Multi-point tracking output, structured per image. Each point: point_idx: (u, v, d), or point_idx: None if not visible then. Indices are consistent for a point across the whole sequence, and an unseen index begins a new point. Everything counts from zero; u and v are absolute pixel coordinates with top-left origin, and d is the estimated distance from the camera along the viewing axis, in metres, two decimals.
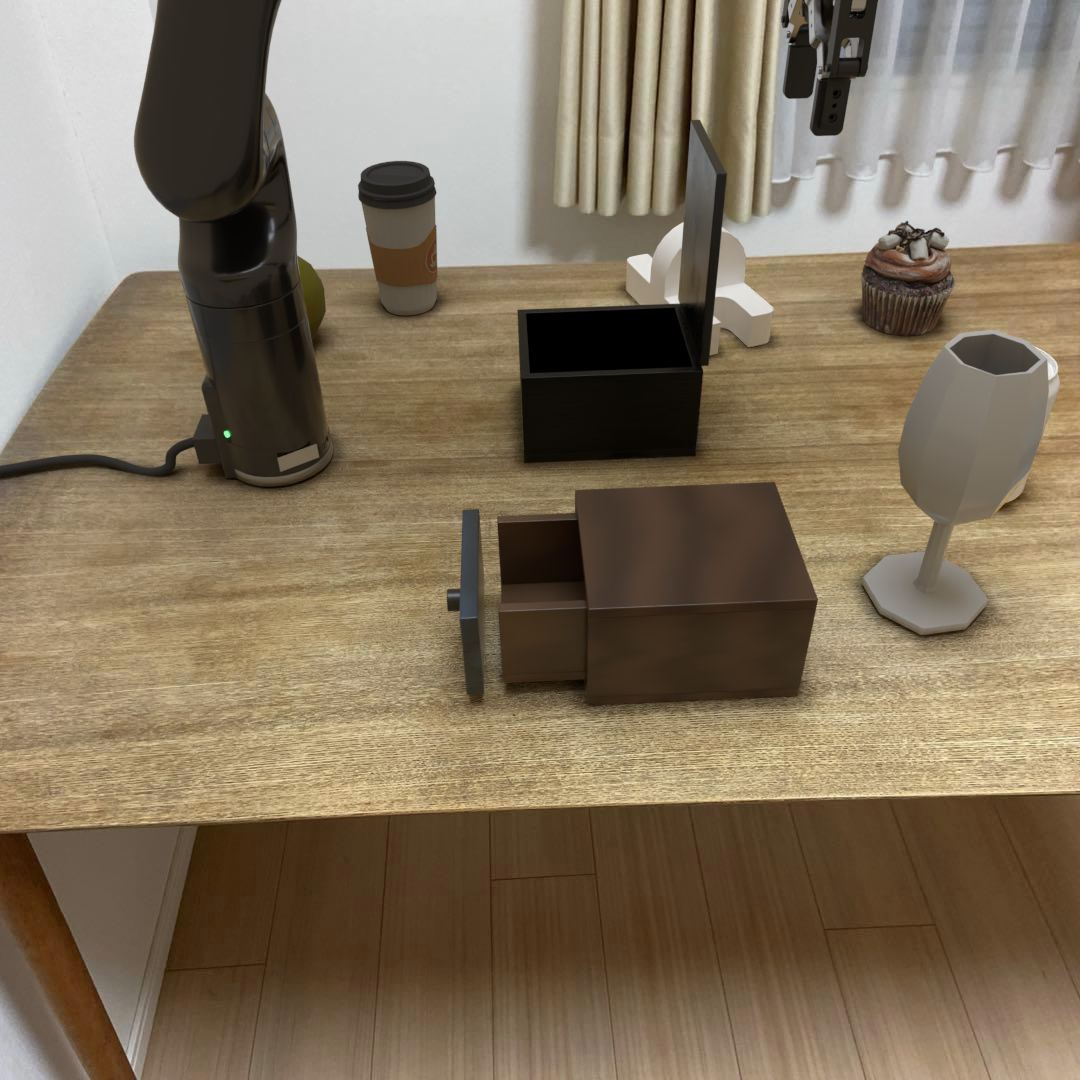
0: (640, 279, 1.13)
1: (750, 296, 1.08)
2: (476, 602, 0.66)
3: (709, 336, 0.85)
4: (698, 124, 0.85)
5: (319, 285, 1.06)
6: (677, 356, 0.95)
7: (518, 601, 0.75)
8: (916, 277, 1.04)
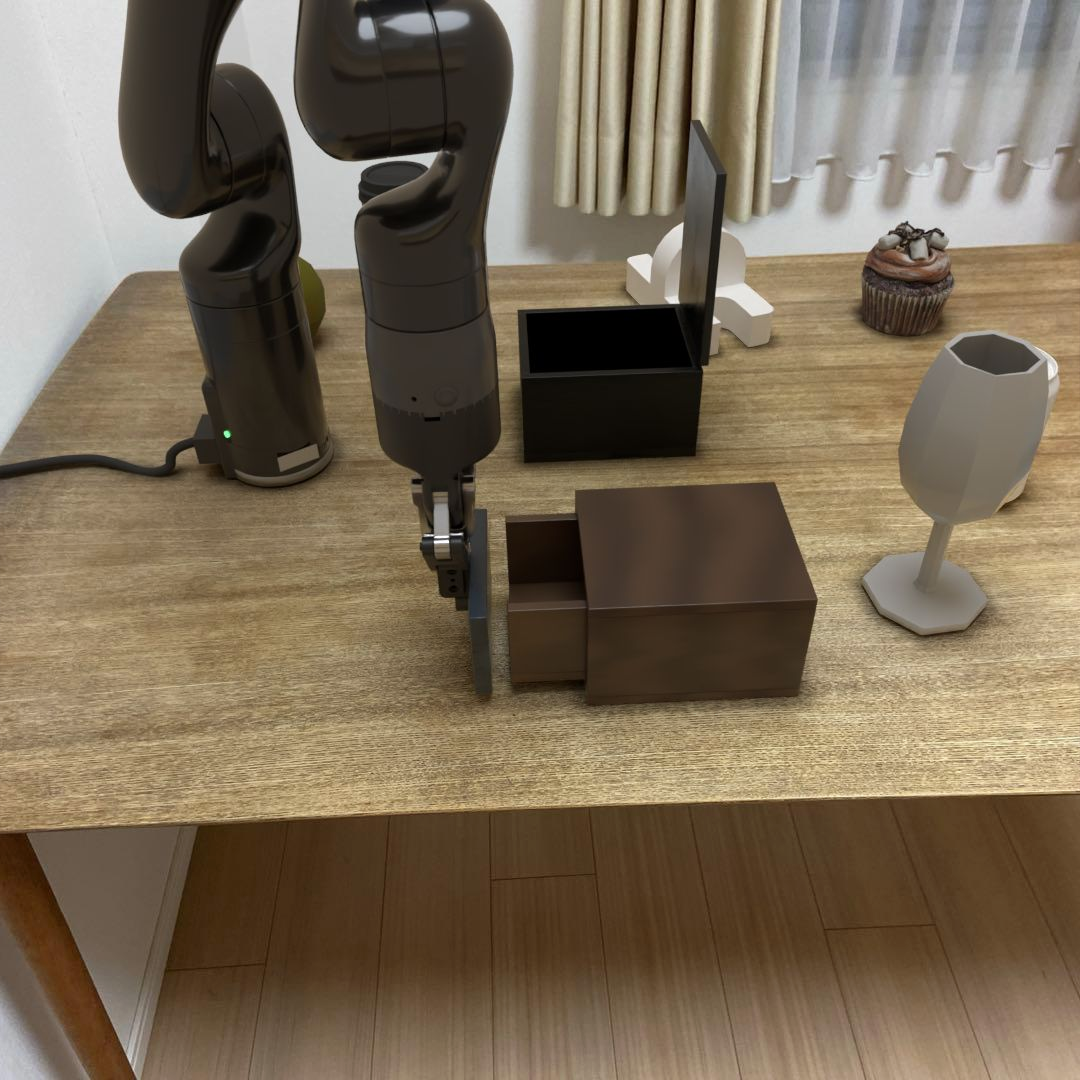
0: (640, 279, 1.13)
1: (750, 296, 1.08)
2: (485, 602, 0.66)
3: (709, 336, 0.85)
4: (698, 124, 0.85)
5: (319, 285, 1.06)
6: (677, 356, 0.95)
7: (526, 601, 0.75)
8: (916, 277, 1.04)
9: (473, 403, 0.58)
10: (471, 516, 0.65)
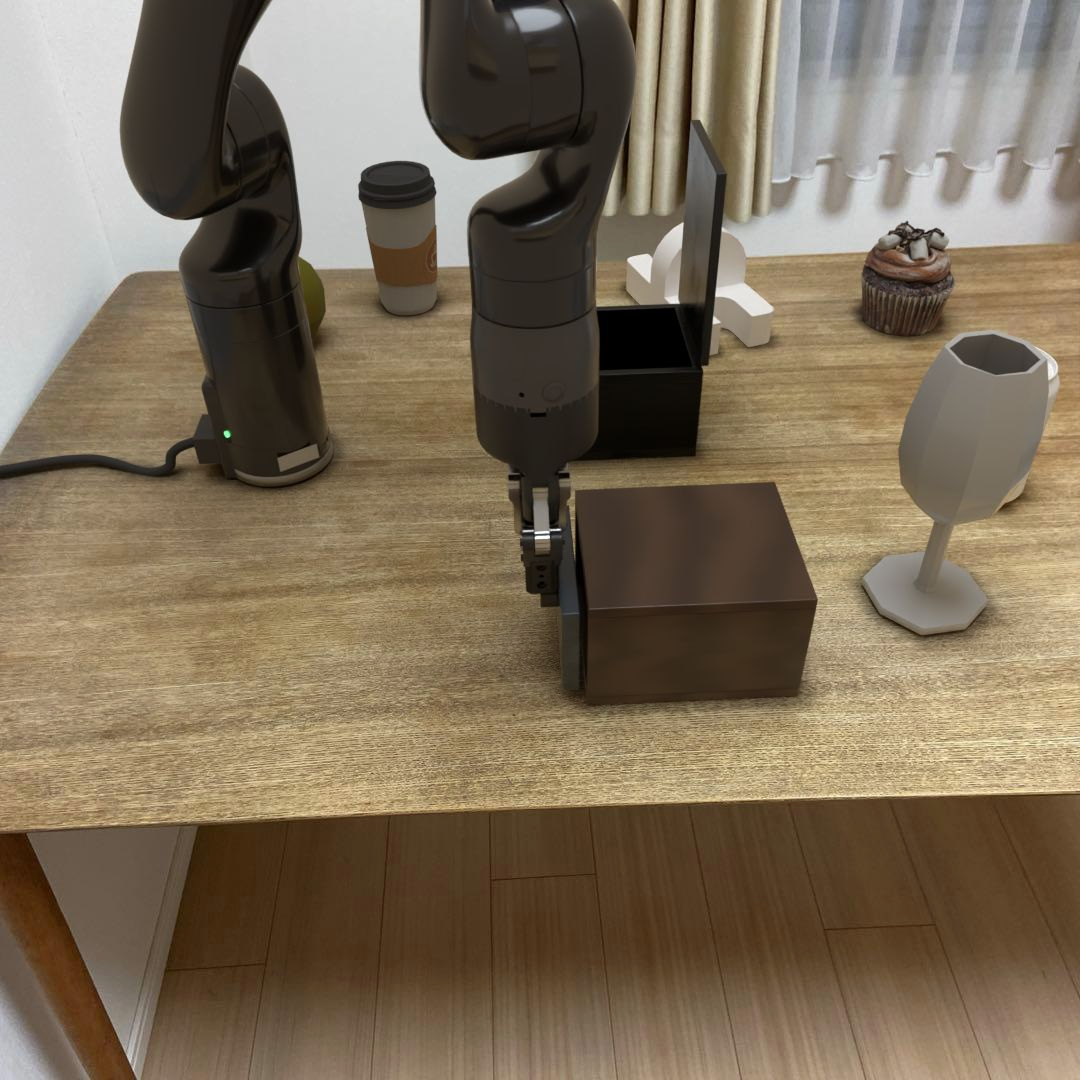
0: (640, 279, 1.13)
1: (750, 296, 1.08)
2: (577, 598, 0.66)
3: (709, 336, 0.85)
4: (698, 124, 0.85)
5: (319, 285, 1.06)
6: (677, 356, 0.95)
7: None
8: (916, 277, 1.04)
9: (578, 399, 0.58)
10: (565, 512, 0.65)
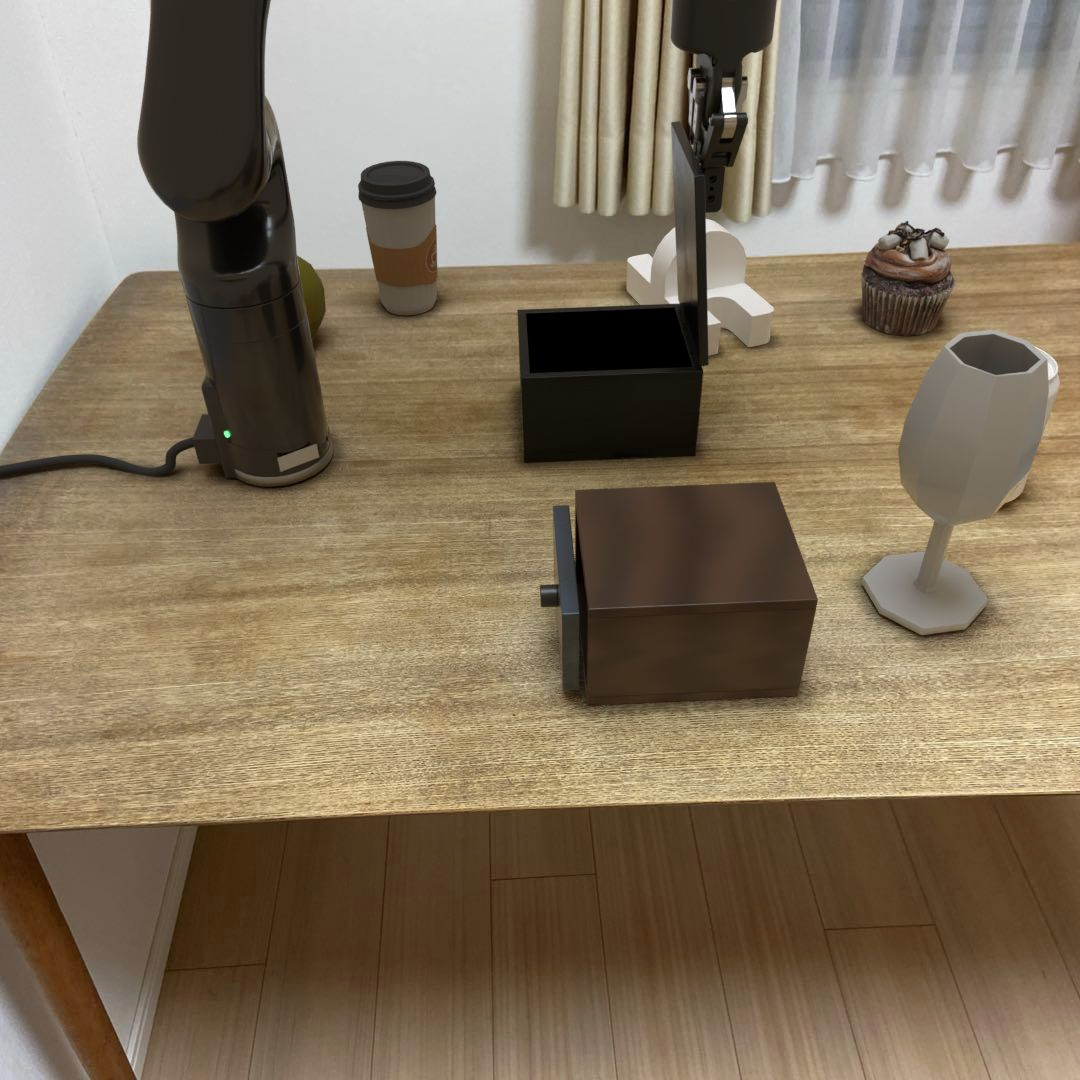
0: (641, 279, 1.13)
1: (750, 296, 1.08)
2: (577, 598, 0.66)
3: (706, 336, 0.85)
4: (678, 126, 0.85)
5: (319, 285, 1.06)
6: (677, 356, 0.95)
7: None
8: (916, 277, 1.04)
9: None
10: None
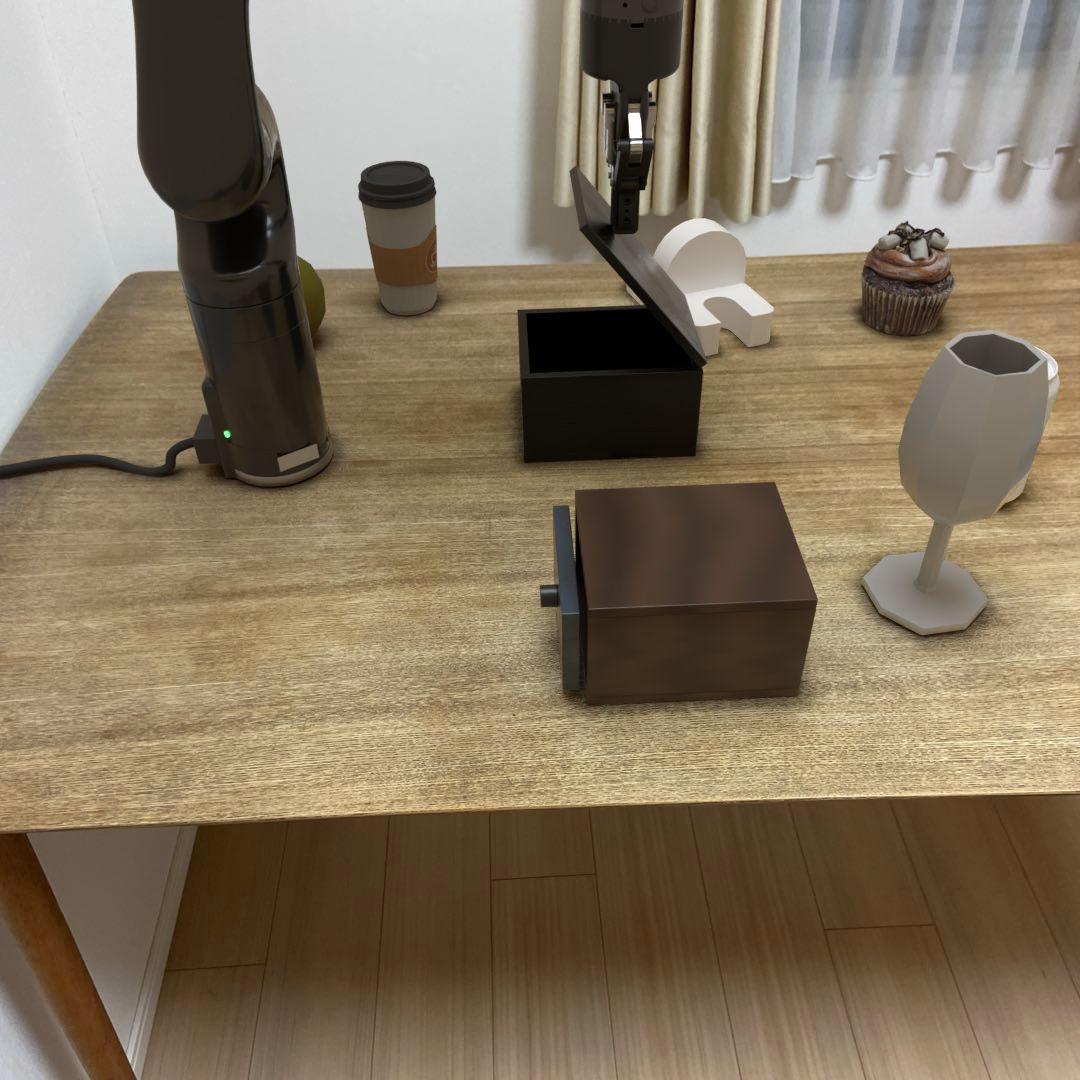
0: None
1: (750, 296, 1.08)
2: (577, 598, 0.66)
3: (687, 342, 0.85)
4: (573, 173, 0.87)
5: (319, 285, 1.06)
6: (677, 356, 0.95)
7: None
8: (916, 278, 1.04)
9: (669, 14, 0.72)
10: None
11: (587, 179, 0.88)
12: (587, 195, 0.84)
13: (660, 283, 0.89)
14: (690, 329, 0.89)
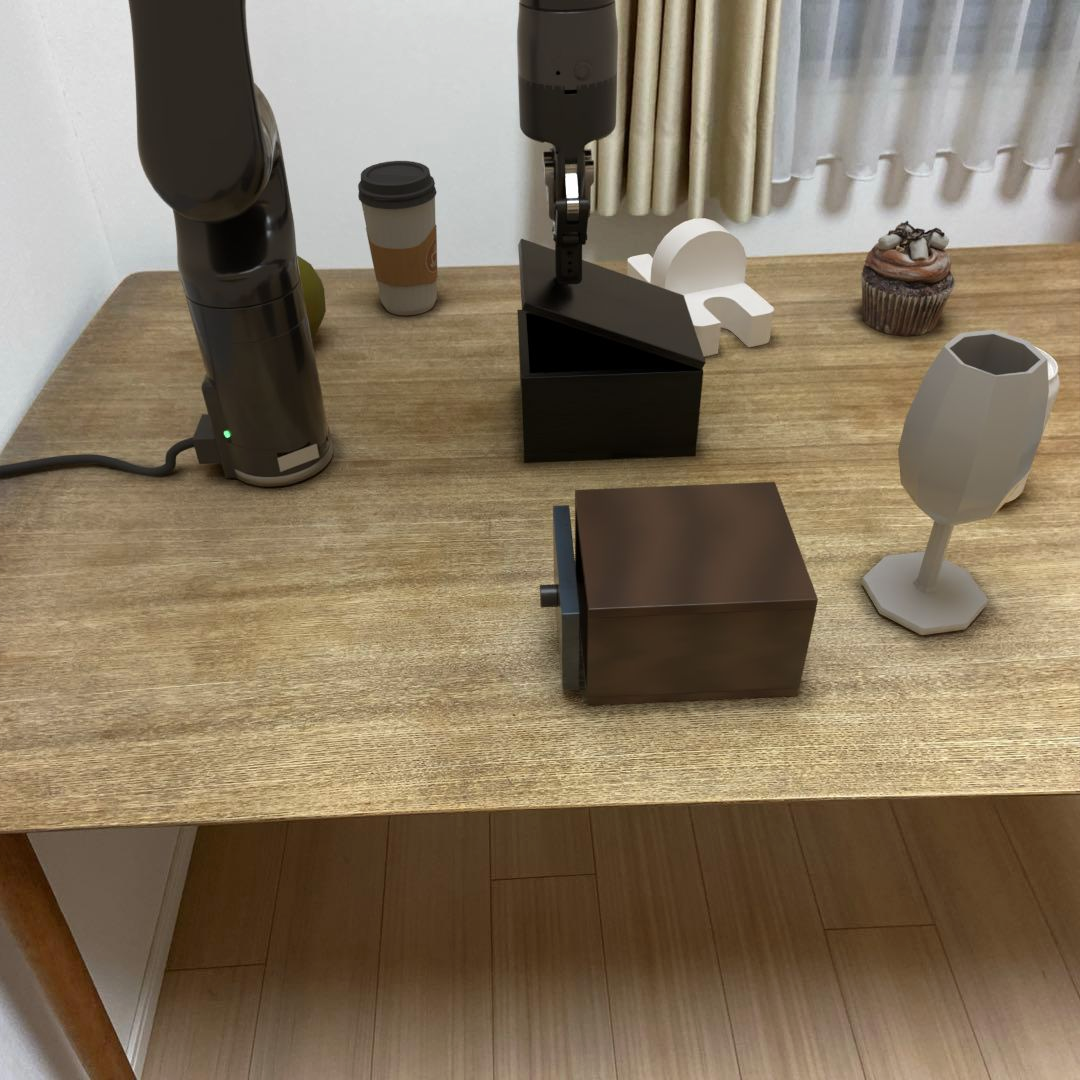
0: (641, 279, 1.13)
1: (750, 296, 1.08)
2: (577, 598, 0.66)
3: (675, 354, 0.86)
4: (520, 247, 0.91)
5: (319, 285, 1.06)
6: None
7: None
8: (916, 277, 1.04)
9: (601, 81, 0.75)
10: (589, 197, 0.81)
11: (537, 244, 0.92)
12: (533, 265, 0.88)
13: (640, 304, 0.90)
14: (683, 334, 0.89)
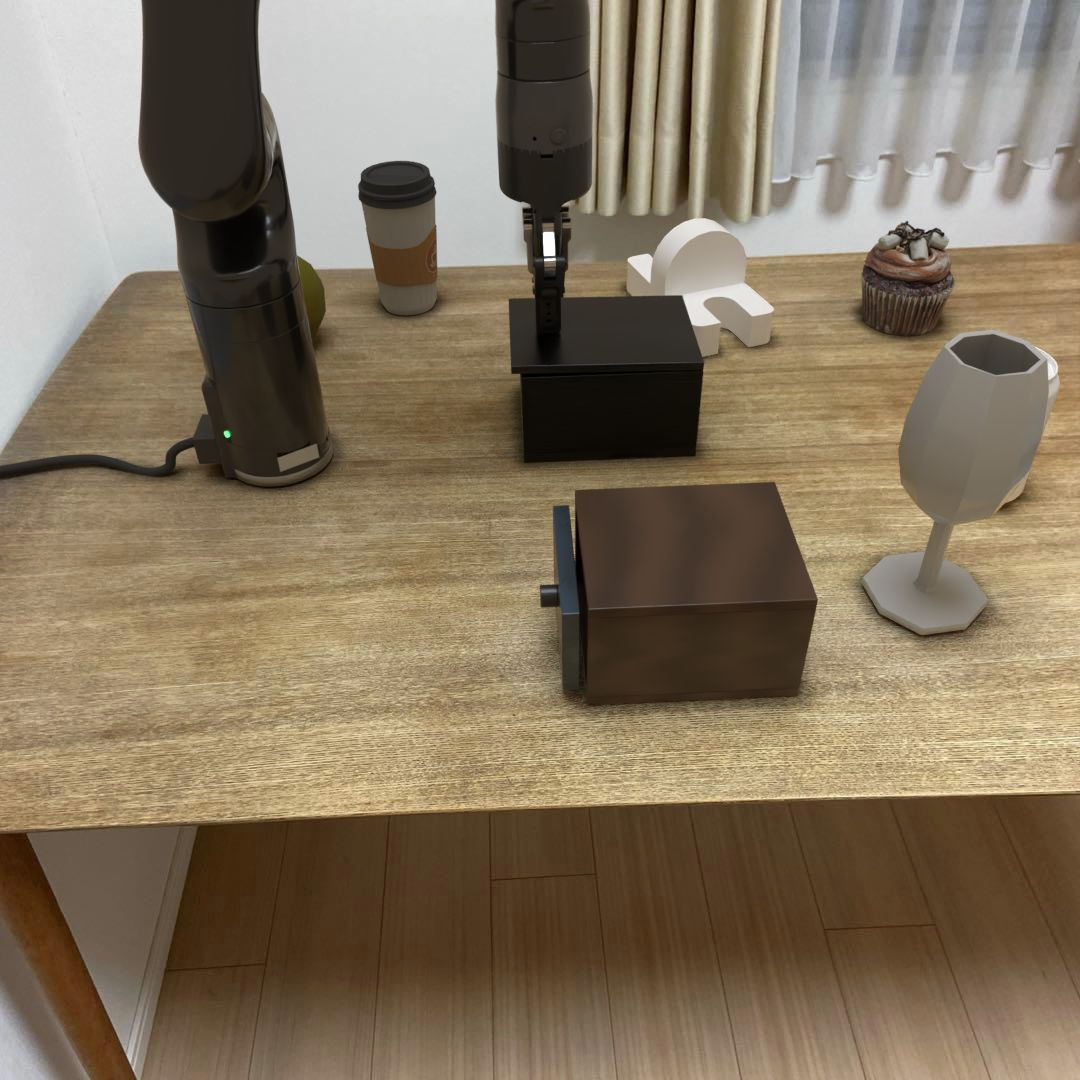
0: (641, 279, 1.13)
1: (750, 296, 1.08)
2: (577, 598, 0.66)
3: (671, 364, 0.86)
4: None
5: (319, 285, 1.06)
6: None
7: None
8: (916, 277, 1.04)
9: (577, 145, 0.78)
10: (567, 252, 0.84)
11: (525, 299, 0.95)
12: (520, 323, 0.92)
13: (633, 323, 0.92)
14: (679, 340, 0.89)
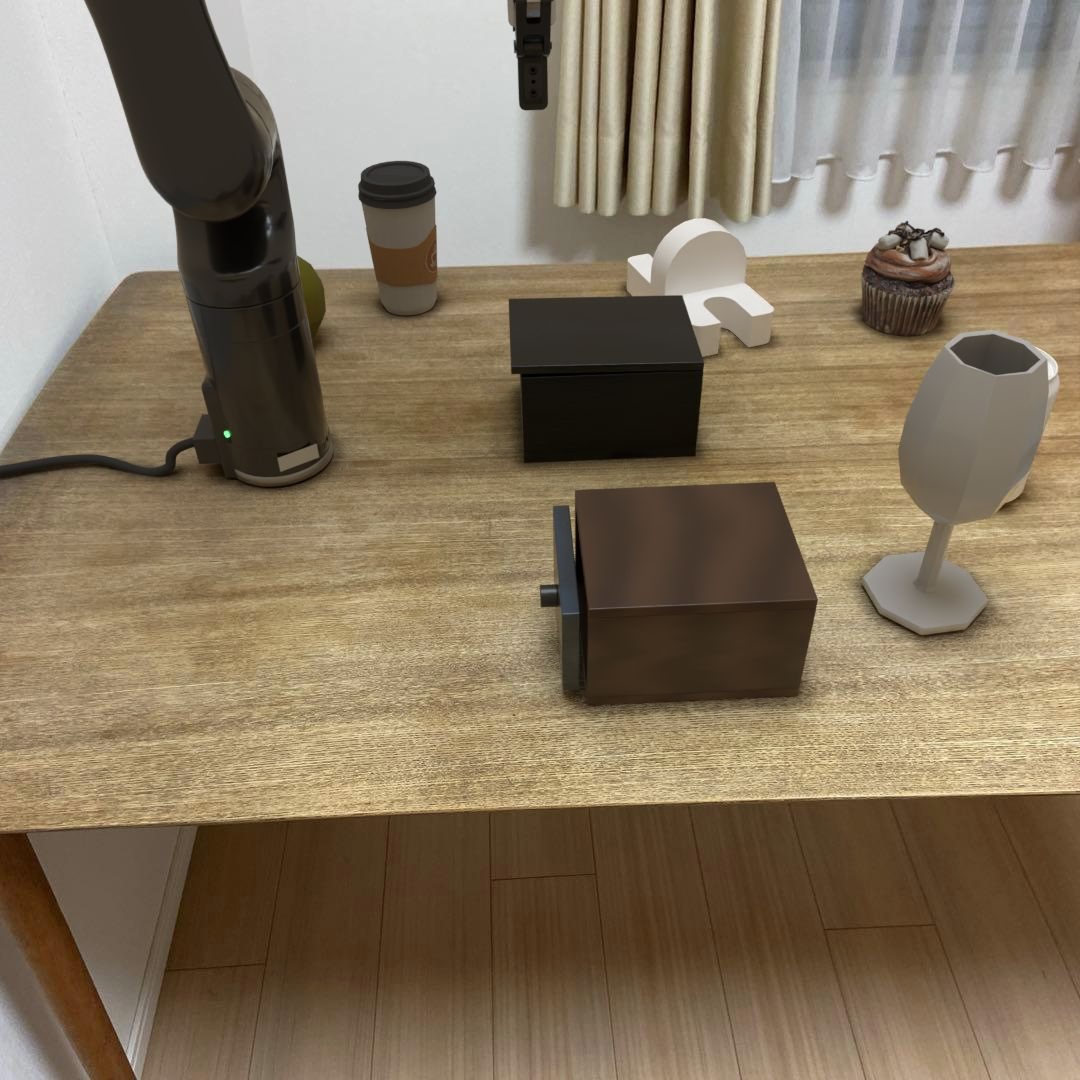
0: (641, 278, 1.13)
1: (750, 296, 1.08)
2: (577, 598, 0.66)
3: (671, 364, 0.86)
4: None
5: (319, 285, 1.06)
6: None
7: None
8: (916, 277, 1.04)
9: None
10: None
11: (525, 299, 0.95)
12: (520, 323, 0.92)
13: (633, 323, 0.92)
14: (679, 340, 0.89)
